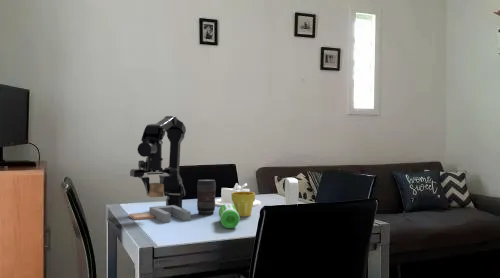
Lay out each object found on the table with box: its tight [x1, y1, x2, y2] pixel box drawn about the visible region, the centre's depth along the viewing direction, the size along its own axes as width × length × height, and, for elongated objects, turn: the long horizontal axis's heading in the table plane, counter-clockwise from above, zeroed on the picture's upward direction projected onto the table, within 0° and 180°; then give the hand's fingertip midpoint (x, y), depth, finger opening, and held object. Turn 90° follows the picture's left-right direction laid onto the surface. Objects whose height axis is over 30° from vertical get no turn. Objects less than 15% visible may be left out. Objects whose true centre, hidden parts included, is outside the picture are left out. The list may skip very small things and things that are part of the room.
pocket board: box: [148, 205, 192, 224], centre depth 191 cm, size 11×18×4 cm, turn 31°
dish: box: [215, 182, 262, 208], centre depth 230 cm, size 25×25×11 cm
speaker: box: [218, 203, 241, 230], centre depth 179 cm, size 18×7×8 cm, turn 7°
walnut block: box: [146, 182, 165, 198], centre depth 186 cm, size 5×6×5 cm
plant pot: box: [232, 191, 256, 217], centre depth 199 cm, size 10×10×10 cm
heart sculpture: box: [284, 177, 300, 206], centre depth 184 cm, size 16×5×18 cm, turn 2°
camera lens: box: [196, 179, 217, 216], centre depth 201 cm, size 8×8×15 cm
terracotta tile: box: [128, 211, 155, 221], centre depth 191 cm, size 8×9×1 cm
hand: (154, 193), depth 187 cm, fingers closed on walnut block, 5 cm apart
